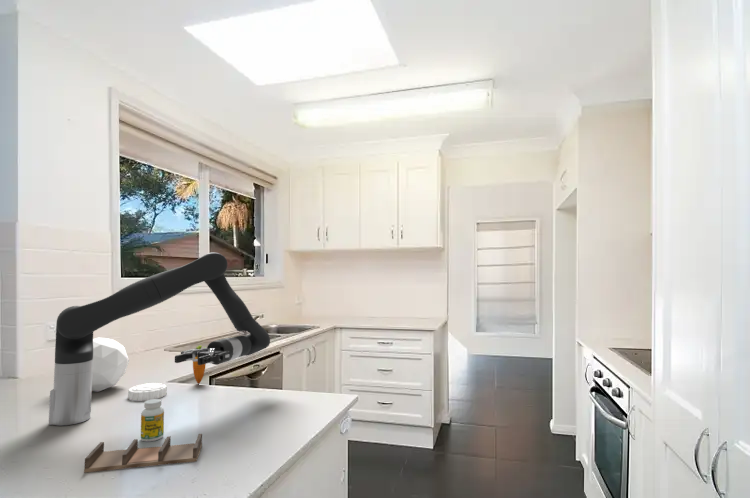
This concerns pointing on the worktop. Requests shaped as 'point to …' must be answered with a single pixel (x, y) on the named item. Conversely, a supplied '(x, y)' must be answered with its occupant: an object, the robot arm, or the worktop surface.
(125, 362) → the ball
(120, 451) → the slot rack
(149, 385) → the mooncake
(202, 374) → the carrot
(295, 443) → the worktop surface
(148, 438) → the supplement bottle
